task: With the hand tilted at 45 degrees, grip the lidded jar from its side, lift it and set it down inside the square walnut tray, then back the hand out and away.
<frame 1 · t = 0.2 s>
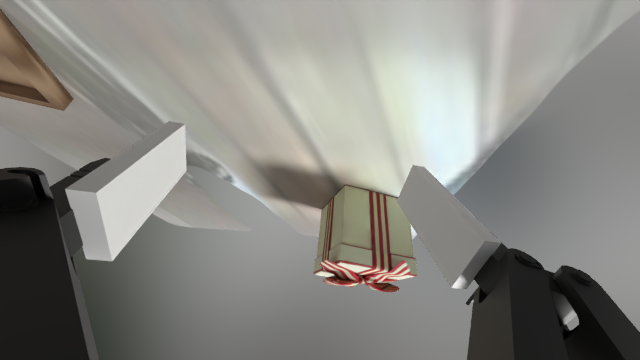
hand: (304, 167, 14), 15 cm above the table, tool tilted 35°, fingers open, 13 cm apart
gift box: (361, 201, 54), on the table
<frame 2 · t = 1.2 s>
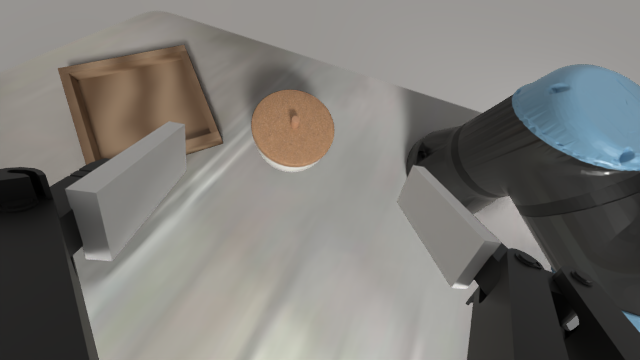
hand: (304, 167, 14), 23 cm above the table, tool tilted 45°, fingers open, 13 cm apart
walnut tray: (149, 112, 36), on the table
lidded jar: (289, 148, 39), on the table
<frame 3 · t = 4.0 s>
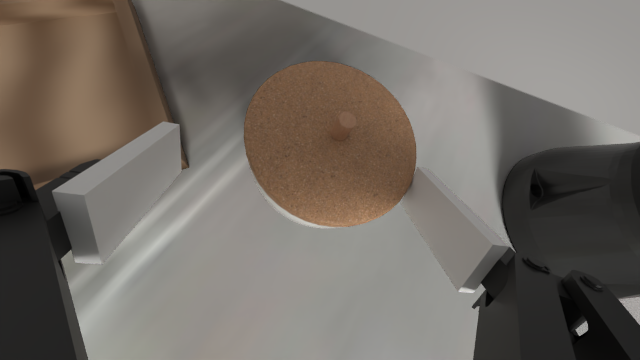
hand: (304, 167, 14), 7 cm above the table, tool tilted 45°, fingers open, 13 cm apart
walnut tray: (45, 105, 19), on the table
lidded jar: (310, 175, 22), on the table, touching gripper
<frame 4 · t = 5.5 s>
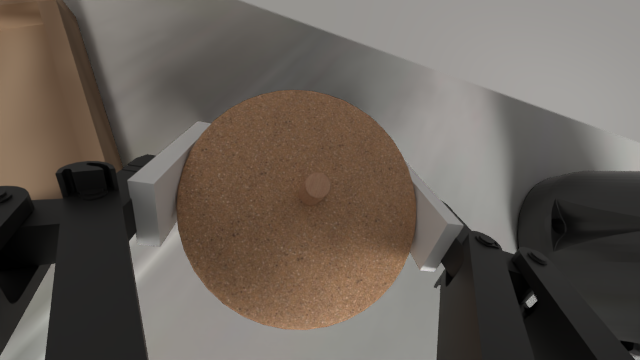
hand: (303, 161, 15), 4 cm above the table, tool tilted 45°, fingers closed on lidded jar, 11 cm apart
lidded jar: (289, 216, 18), on the table, touching gripper
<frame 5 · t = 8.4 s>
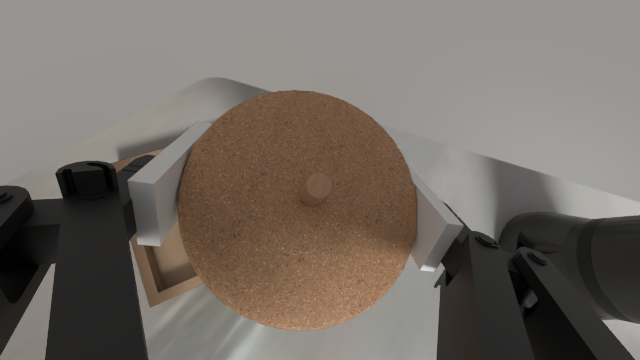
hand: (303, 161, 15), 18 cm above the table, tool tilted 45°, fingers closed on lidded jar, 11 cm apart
walnut tray: (210, 206, 30), on the table
lidded jar: (290, 216, 18), point 14 cm above the table, touching gripper
when the fingers open (6 cm above the table, at t = 11.5 s): lidded jar drops 1 cm, resting on walnut tray.
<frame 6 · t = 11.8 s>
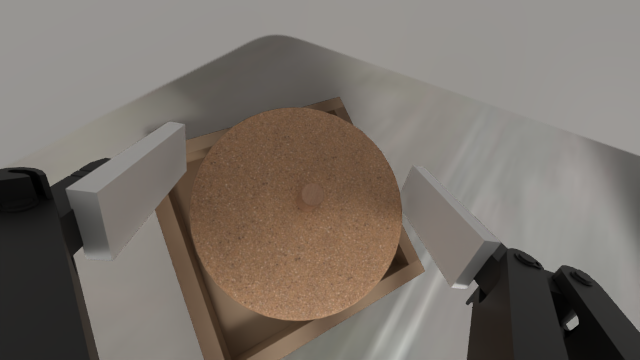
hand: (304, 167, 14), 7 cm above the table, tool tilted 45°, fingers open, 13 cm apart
walnut tray: (287, 219, 20), on the table
lidded jar: (289, 219, 20), resting on walnut tray
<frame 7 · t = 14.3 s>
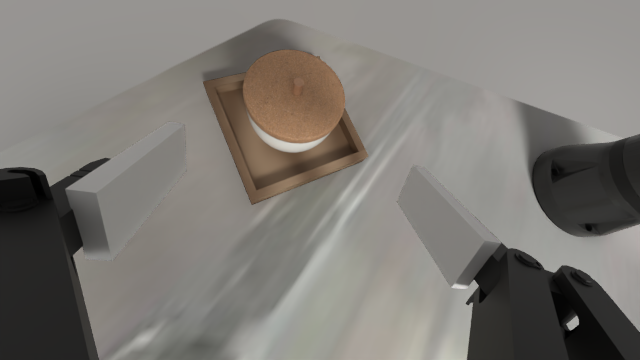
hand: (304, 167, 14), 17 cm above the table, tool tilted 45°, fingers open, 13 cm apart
walnut tray: (287, 128, 33), on the table
lidded jar: (288, 127, 33), resting on walnut tray
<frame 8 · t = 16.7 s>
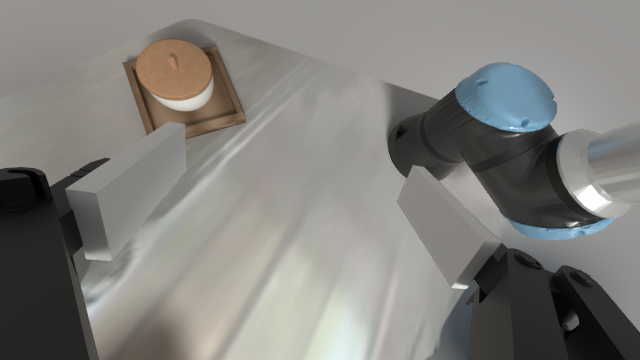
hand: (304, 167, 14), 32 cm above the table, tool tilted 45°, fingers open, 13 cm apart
walnut tray: (188, 97, 47), on the table
lidded jar: (188, 96, 46), resting on walnut tray
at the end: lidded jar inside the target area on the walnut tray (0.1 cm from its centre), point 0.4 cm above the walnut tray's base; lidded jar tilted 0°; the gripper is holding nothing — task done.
